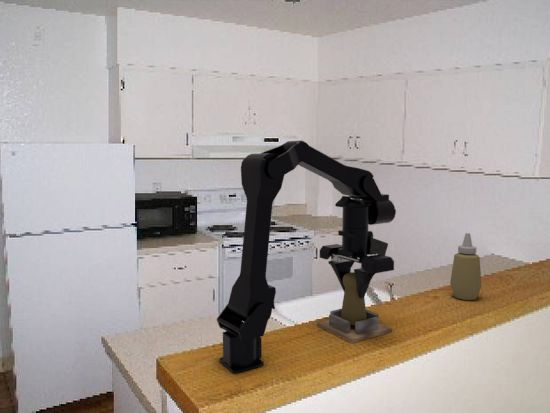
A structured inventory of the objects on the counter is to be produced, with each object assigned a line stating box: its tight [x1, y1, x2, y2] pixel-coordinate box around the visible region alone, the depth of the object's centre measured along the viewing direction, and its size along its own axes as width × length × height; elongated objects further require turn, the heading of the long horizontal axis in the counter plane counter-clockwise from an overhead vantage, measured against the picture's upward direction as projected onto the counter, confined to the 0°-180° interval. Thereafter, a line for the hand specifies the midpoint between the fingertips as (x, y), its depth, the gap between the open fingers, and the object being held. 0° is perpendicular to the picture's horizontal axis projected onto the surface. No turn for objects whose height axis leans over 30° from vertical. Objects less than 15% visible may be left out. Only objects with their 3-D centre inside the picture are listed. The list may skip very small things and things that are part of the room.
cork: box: [341, 271, 367, 325], centre depth 104 cm, size 6×6×11 cm
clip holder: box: [316, 308, 393, 344], centre depth 105 cm, size 12×12×3 cm
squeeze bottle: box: [449, 232, 483, 301], centre depth 127 cm, size 8×8×18 cm
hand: (354, 295), depth 104 cm, fingers closed on cork, 5 cm apart
